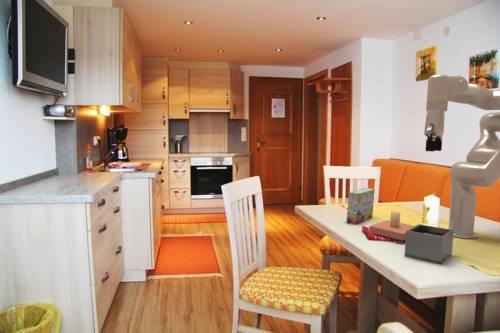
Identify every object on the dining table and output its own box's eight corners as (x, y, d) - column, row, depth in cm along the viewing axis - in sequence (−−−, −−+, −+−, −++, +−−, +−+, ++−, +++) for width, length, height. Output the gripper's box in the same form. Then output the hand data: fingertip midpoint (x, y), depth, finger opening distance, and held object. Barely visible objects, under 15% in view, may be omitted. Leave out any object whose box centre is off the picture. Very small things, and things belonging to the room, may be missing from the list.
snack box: (357, 225, 178) (359, 193, 177) (346, 223, 182) (347, 191, 180) (373, 217, 195) (375, 188, 194) (362, 216, 199) (364, 187, 197)
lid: (386, 225, 170) (388, 206, 169) (418, 232, 160) (420, 212, 159) (369, 232, 158) (370, 211, 157) (402, 240, 149) (404, 218, 148)
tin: (417, 247, 146) (418, 224, 145) (451, 254, 138) (453, 230, 137) (404, 255, 135) (406, 230, 134) (441, 264, 127) (443, 237, 126)
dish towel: (360, 230, 171) (361, 225, 170) (416, 234, 167) (417, 228, 167) (366, 241, 154) (367, 235, 153) (429, 246, 150) (429, 239, 150)
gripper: (432, 108, 159) (429, 150, 161) (419, 106, 146) (416, 151, 148) (452, 108, 155) (449, 151, 156) (441, 105, 141) (437, 152, 143)
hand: (433, 151), depth 152 cm, fingers open, 9 cm apart
